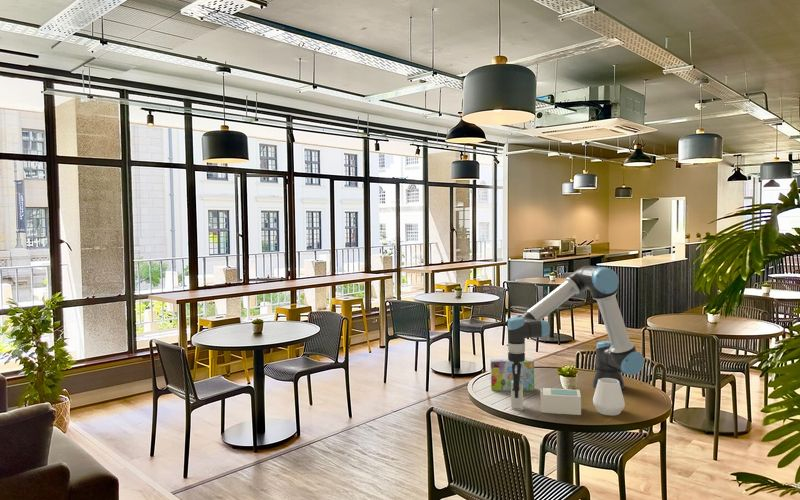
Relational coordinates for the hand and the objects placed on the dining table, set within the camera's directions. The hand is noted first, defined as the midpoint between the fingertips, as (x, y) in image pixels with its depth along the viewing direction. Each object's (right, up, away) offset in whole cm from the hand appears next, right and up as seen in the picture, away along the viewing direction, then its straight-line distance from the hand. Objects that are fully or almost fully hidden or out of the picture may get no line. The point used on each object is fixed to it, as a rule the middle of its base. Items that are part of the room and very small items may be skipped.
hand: (517, 402), depth 253 cm
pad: (0, -2, 0) cm, 2 cm away
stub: (0, -2, 0) cm, 2 cm away
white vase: (+39, -2, -8) cm, 40 cm away
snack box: (+3, -1, +27) cm, 27 cm away
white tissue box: (+18, -2, -5) cm, 19 cm away
